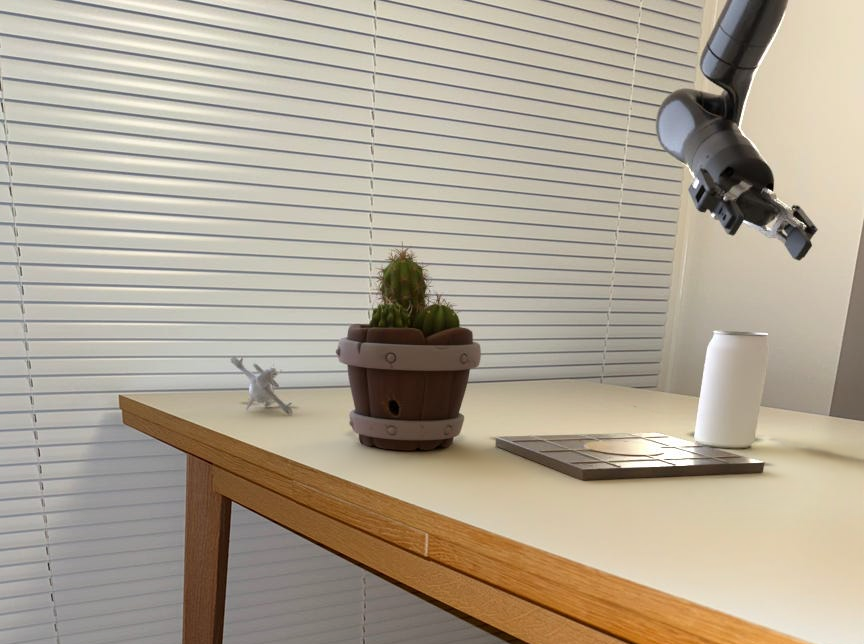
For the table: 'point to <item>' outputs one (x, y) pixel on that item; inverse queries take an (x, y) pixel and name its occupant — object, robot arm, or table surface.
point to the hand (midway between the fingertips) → (770, 239)
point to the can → (732, 389)
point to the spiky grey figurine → (262, 385)
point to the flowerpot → (408, 364)
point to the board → (626, 455)
